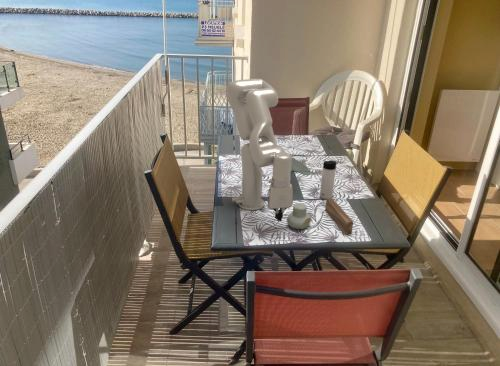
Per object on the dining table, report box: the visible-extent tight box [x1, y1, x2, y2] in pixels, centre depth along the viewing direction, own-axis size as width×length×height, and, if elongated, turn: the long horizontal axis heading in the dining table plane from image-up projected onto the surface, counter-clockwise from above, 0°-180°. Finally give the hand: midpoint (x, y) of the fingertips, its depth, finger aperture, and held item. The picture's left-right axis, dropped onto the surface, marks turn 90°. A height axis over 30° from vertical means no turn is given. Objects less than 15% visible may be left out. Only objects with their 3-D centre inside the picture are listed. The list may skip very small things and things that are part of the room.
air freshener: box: [286, 202, 312, 230], centre depth 183 cm, size 11×8×10 cm
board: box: [325, 197, 354, 235], centre depth 188 cm, size 3×22×6 cm, turn 14°
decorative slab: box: [291, 157, 315, 176], centre depth 246 cm, size 26×24×2 cm
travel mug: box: [319, 160, 337, 201], centre depth 206 cm, size 6×7×20 cm
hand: (278, 219), depth 181 cm, fingers closed
